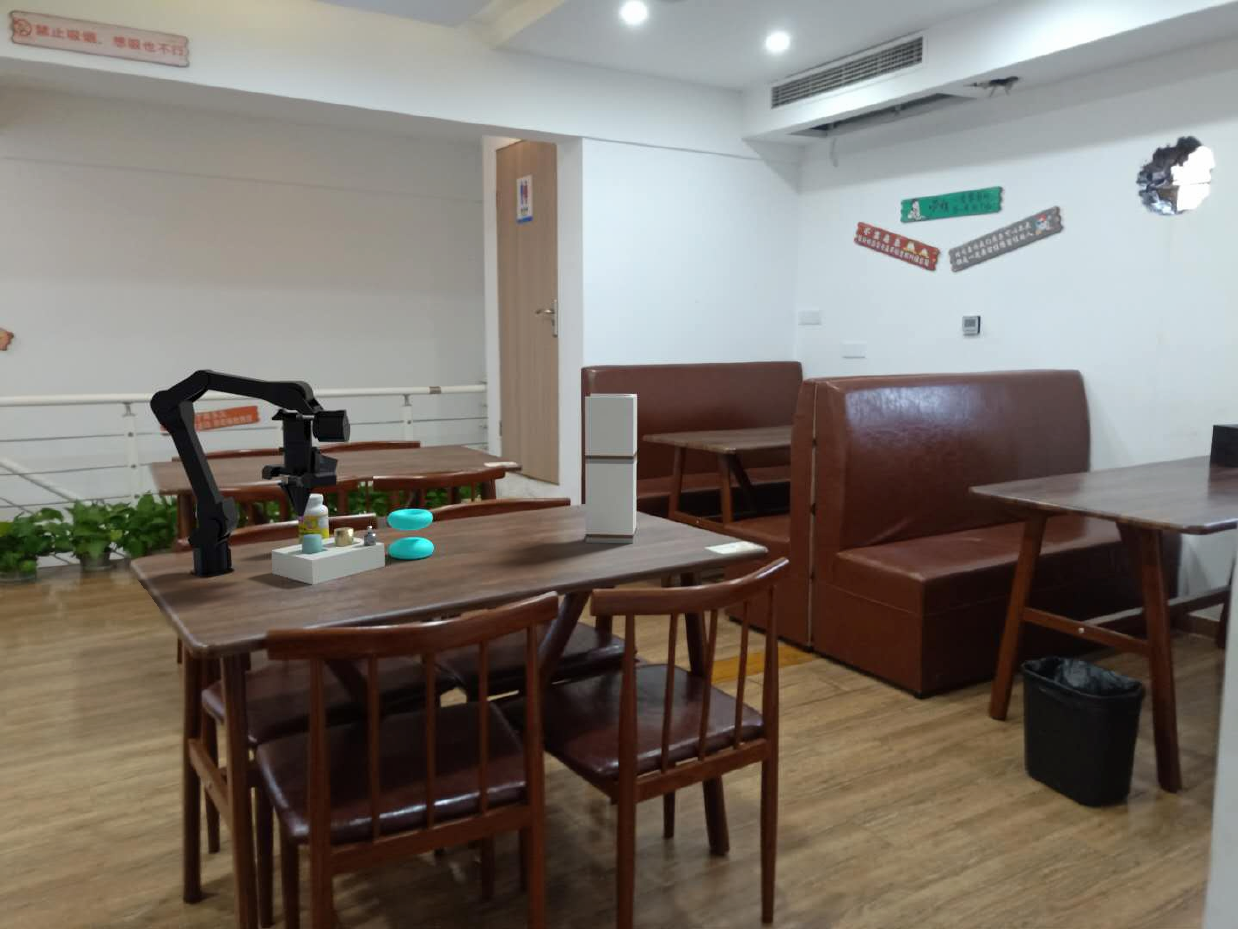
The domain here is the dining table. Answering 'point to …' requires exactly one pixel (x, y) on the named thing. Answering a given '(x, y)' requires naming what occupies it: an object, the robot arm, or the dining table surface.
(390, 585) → the dining table surface
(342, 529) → the brass knob
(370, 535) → the potentiometer
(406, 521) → the donuts
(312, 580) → the mount
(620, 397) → the toy refrigerator
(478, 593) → the dining table surface
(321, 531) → the supplement bottle
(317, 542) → the teal cylinder
